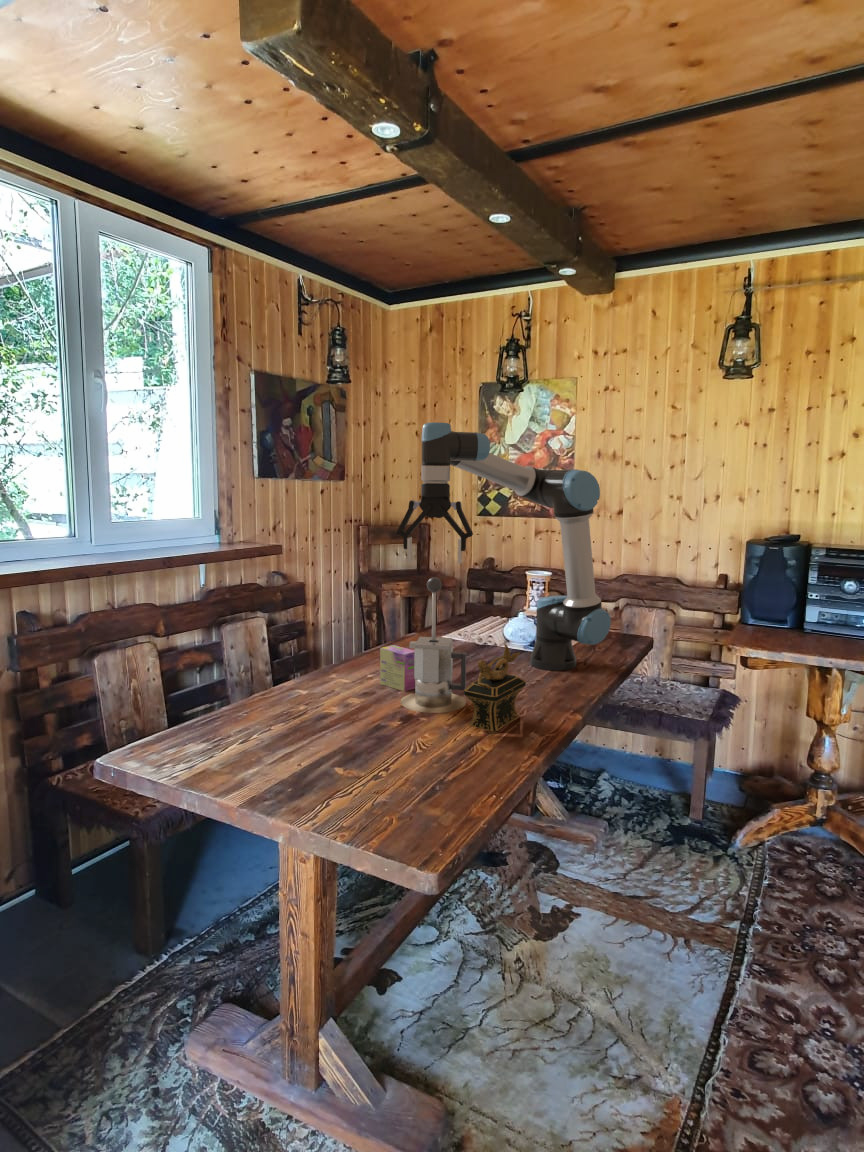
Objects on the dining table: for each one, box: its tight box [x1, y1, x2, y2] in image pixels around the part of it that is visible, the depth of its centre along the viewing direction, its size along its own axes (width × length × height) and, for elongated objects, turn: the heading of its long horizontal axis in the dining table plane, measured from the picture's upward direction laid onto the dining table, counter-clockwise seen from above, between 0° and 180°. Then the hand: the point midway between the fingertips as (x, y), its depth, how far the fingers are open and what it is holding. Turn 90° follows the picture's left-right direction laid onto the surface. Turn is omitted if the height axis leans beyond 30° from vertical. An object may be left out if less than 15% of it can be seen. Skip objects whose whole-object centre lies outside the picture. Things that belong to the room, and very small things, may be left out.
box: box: [379, 644, 415, 692], centre depth 206 cm, size 10×6×12 cm, turn 47°
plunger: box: [426, 577, 443, 640], centre depth 188 cm, size 4×4×17 cm
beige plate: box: [400, 692, 467, 714], centre depth 192 cm, size 18×18×1 cm
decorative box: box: [463, 642, 527, 735], centre depth 178 cm, size 20×10×20 cm, turn 146°
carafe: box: [408, 636, 467, 708], centre depth 191 cm, size 15×10×17 cm, turn 82°
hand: (434, 562), depth 187 cm, fingers open, 13 cm apart
